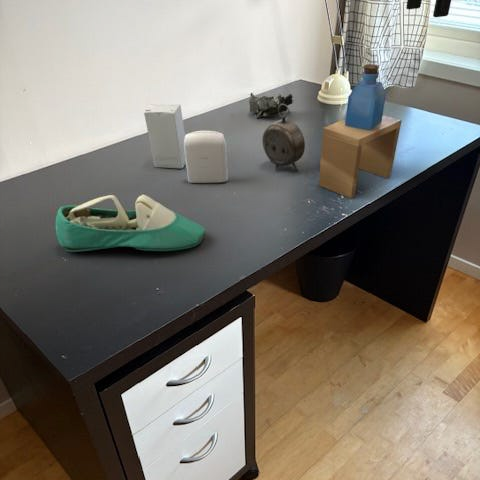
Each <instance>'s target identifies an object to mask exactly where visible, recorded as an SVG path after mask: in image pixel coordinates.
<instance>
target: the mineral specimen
mask: <svg viewBox="0 0 480 480" xmlns="http://www.w3.org/2000/svg"><path fill="white" fill-rule="evenodd" d="M249 95H250V97H249V101H248V105H249V111H250V112H251V113H256V116H255V117H256V119H259V118H262V117H263V118H265V117H270V118H271V117H276V116H277V115H279V113H280V114H282V113H284V112H288V109H287V107H286V106H285V105H282V106H280V105H281V104H286V105H287V106H288V107H289V106H290V105H292V104H294V102H295V100H293V94H292V93H289V94H287V95H286V96H285V95H284V96H282V94H281V93H279V94H278V95H277V96H275V97H274V96H266V95H262V97H257V96H255V95H254V93H252V92H250V94H249ZM279 106H280V108H279V113H278V107H279Z"/></svg>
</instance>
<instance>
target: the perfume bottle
mask: <svg viewBox="0 0 480 480" xmlns="http://www.w3.org/2000/svg"><path fill="white" fill-rule="evenodd" d="M379 68H380V66H379V65H377V64H374V63H372V64H371V63H368V64H364V65H363V69H364V70H363V71H362V73H361V78H362V80H361V81H359V82H358V83H356V84H355V86H354V87H353V89H352V91H351V92H350V94H349V95H348V97H347V105H346V111H345V112H346V113H345V119H346V121H345V126H350V127H355V128H360V129H365V130H369V131H371V130H372V129H373V128H374V127H376V126H377V125H378V124H380V123H381V121H382V115H384V110H385V109H384V108H385V103H386V96H387V93H386V89H385V87H384V85H383V82H382V81H378V78H379V75H380V71H379Z"/></svg>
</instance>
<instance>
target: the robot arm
mask: <svg viewBox="0 0 480 480" xmlns="http://www.w3.org/2000/svg"><path fill="white" fill-rule="evenodd" d="M422 1H423V0H406V10H416V9H420V8H421V7H422ZM451 4H452V0H435V3H434V9H433V13H432V17H433V18H442V17H448V15H449V13H450V8H451Z"/></svg>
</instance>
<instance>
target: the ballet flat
mask: <svg viewBox="0 0 480 480" xmlns="http://www.w3.org/2000/svg"><path fill="white" fill-rule="evenodd" d="M106 200H112V202H113V203H114V206H115V207H116V209H108V208H98V207H97V208H96V207H92V206H95V205H98V204H99V203H101V202H104V201H106ZM134 206H135V209H133V210H124V208H123V206H122V204H121V203H120V201H119V200H118V198H117V196H115V195H113V194H109V195H105V196H100V197H97V198H94V199H91V200H88V201H87V202H83V203H82V204H79V205H77V204H76V205H75V204H73V205H72V204H69V205H67V204H66V205H63V206H60V207H59V208H58V210H57V214H56V217H55V234H56V237H57V240H58V244H59V245H60V246H61V247H63V249H64V250H65V251H66V252H68V253H78V252H88V251H89V252H90V251H95V250H102V249H112V248H118V247H126V248H127V247H128V248H129V247H130V248H134V249H136V250H140V251H149V252H172V251H179V250H186V249H191V248H194V247H197V246H198V245H199V244H201V243H202V241H203V240H204V237H205V236H206V229H205V227H204V226H202V225H201V224H199V223H197V222H195V221H193V220H190V219H189V218H186V217H185V216H184V215H180V214H179V213H176V212H175V211H173V210H172V209H170V208H167V207H165V206H164V205H163V204H161V203H160V202H157V201H155V200H154V199H153V198H151V197H150V196H148V195H147V194H141V195H139V196H138V197H137V198H136V201H135V202H134Z"/></svg>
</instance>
